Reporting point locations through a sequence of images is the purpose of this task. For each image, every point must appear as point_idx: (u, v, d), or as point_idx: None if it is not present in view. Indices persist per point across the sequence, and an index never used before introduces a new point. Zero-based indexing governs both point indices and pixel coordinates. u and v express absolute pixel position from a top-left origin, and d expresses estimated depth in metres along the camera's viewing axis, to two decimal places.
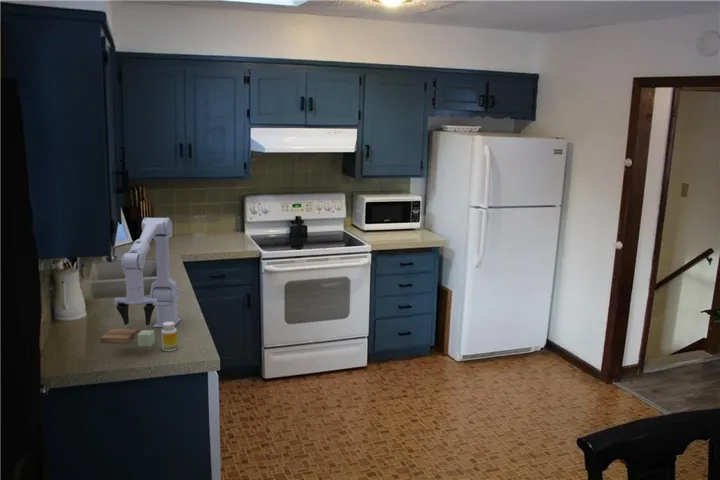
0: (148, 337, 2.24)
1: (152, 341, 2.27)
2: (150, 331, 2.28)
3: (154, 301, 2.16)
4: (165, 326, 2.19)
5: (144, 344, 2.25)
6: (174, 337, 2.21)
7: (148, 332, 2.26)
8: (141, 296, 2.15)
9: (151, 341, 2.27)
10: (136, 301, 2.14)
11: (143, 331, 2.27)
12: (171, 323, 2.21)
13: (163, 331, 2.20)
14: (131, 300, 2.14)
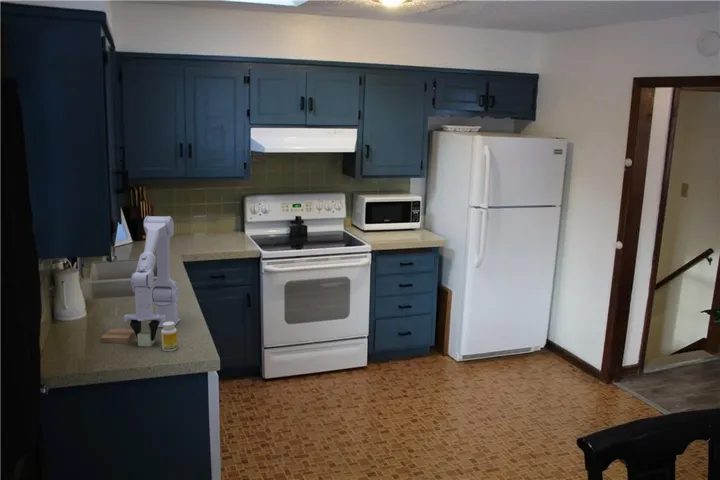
0: (148, 336, 2.24)
1: (152, 341, 2.27)
2: (150, 331, 2.28)
3: (162, 318, 2.24)
4: (165, 326, 2.19)
5: (144, 344, 2.25)
6: (174, 337, 2.21)
7: (148, 332, 2.26)
8: (150, 313, 2.24)
9: (151, 341, 2.27)
10: (145, 318, 2.23)
11: (143, 331, 2.27)
12: (171, 323, 2.21)
13: (163, 331, 2.20)
14: (140, 317, 2.22)
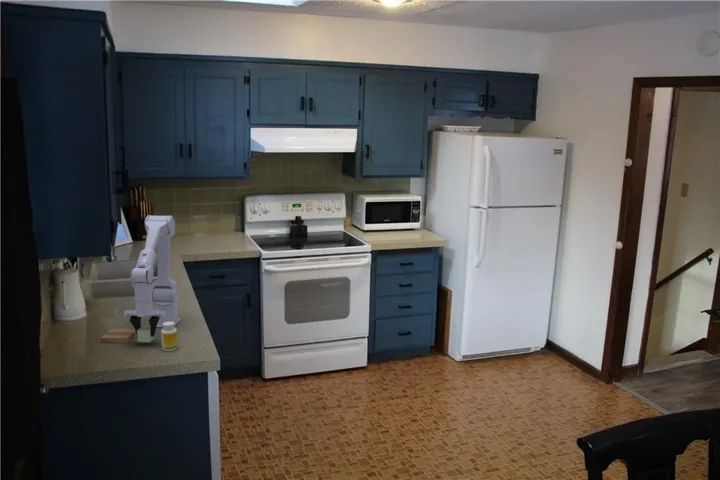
0: (148, 332, 2.24)
1: (152, 337, 2.27)
2: None
3: (162, 314, 2.24)
4: (165, 326, 2.19)
5: (144, 340, 2.25)
6: (174, 337, 2.21)
7: (148, 328, 2.26)
8: (150, 309, 2.23)
9: (151, 337, 2.26)
10: (145, 314, 2.22)
11: (143, 327, 2.27)
12: (171, 323, 2.21)
13: (163, 331, 2.20)
14: (140, 313, 2.22)
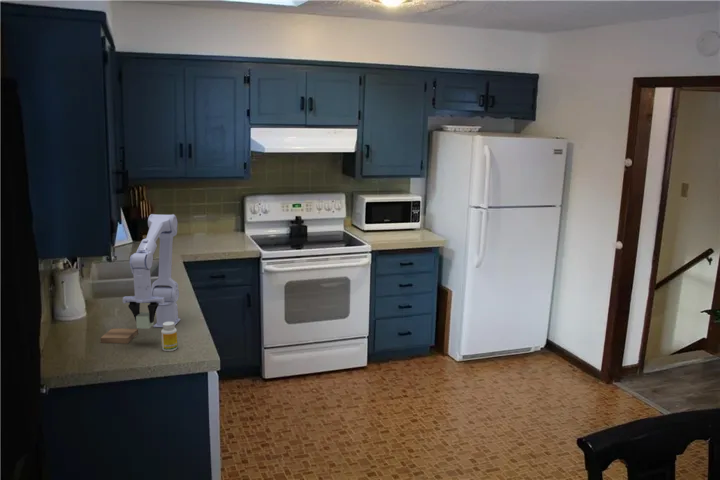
0: (147, 318, 2.23)
1: (151, 323, 2.26)
2: None
3: (161, 300, 2.23)
4: (165, 326, 2.19)
5: (143, 326, 2.24)
6: (174, 337, 2.21)
7: (147, 314, 2.25)
8: (148, 295, 2.22)
9: (150, 323, 2.25)
10: (144, 300, 2.21)
11: (142, 313, 2.26)
12: (171, 323, 2.21)
13: (163, 331, 2.20)
14: (139, 299, 2.21)
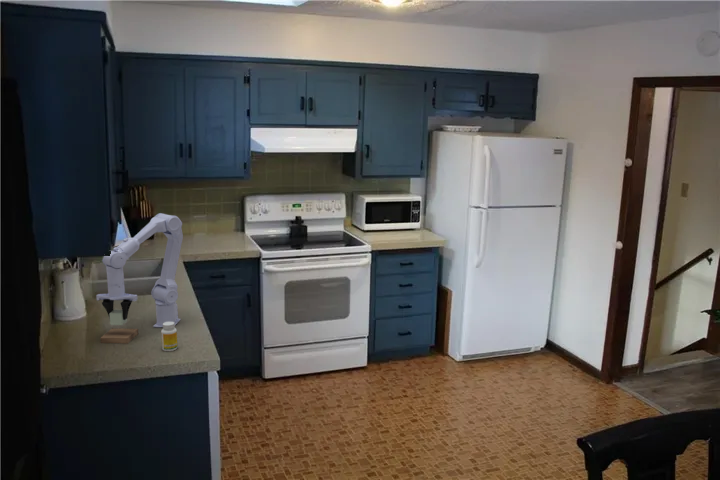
0: (120, 315, 2.29)
1: (124, 320, 2.31)
2: None
3: (134, 297, 2.28)
4: (165, 326, 2.19)
5: (116, 323, 2.29)
6: (174, 337, 2.21)
7: (120, 311, 2.30)
8: (121, 292, 2.28)
9: (123, 320, 2.31)
10: (117, 297, 2.27)
11: (115, 311, 2.31)
12: (171, 323, 2.21)
13: (163, 331, 2.20)
14: (112, 296, 2.27)
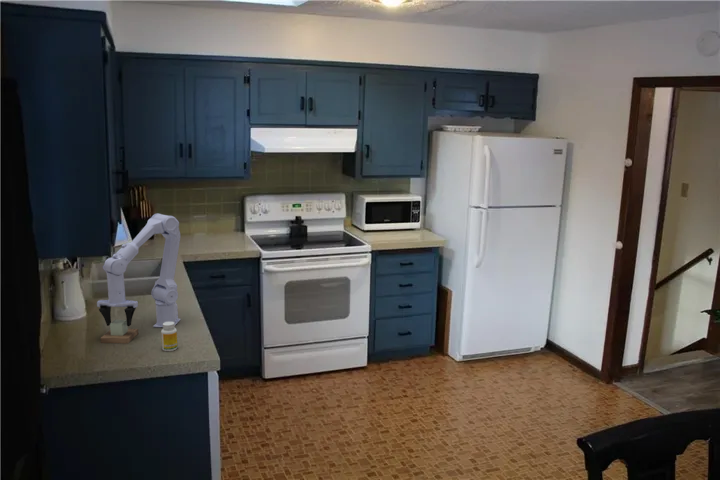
0: (120, 326, 2.29)
1: (125, 330, 2.32)
2: (123, 320, 2.33)
3: (134, 303, 2.29)
4: (165, 326, 2.19)
5: (117, 333, 2.30)
6: (174, 337, 2.21)
7: (121, 322, 2.31)
8: (122, 299, 2.28)
9: (124, 330, 2.31)
10: (117, 303, 2.27)
11: (116, 321, 2.32)
12: (171, 323, 2.21)
13: (163, 331, 2.20)
14: (113, 303, 2.27)
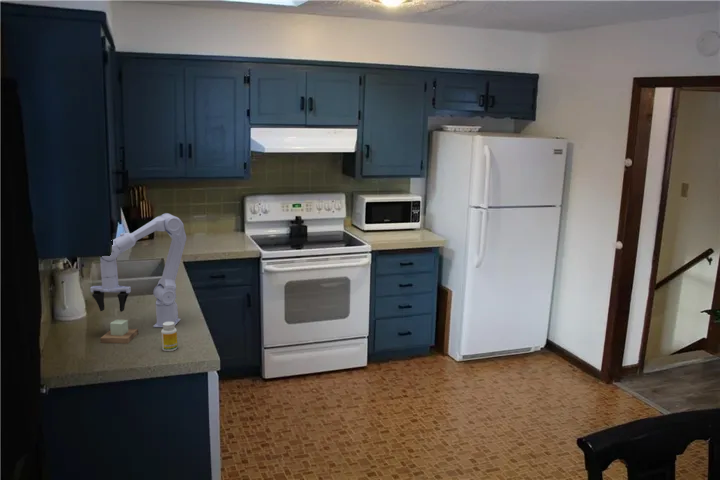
0: (120, 326, 2.29)
1: (125, 330, 2.32)
2: (123, 320, 2.33)
3: (127, 289, 2.32)
4: (165, 326, 2.19)
5: (116, 333, 2.30)
6: (174, 337, 2.21)
7: (121, 322, 2.31)
8: (115, 284, 2.31)
9: (124, 331, 2.31)
10: (110, 289, 2.30)
11: (117, 321, 2.32)
12: (171, 323, 2.21)
13: (163, 331, 2.20)
14: (106, 288, 2.30)
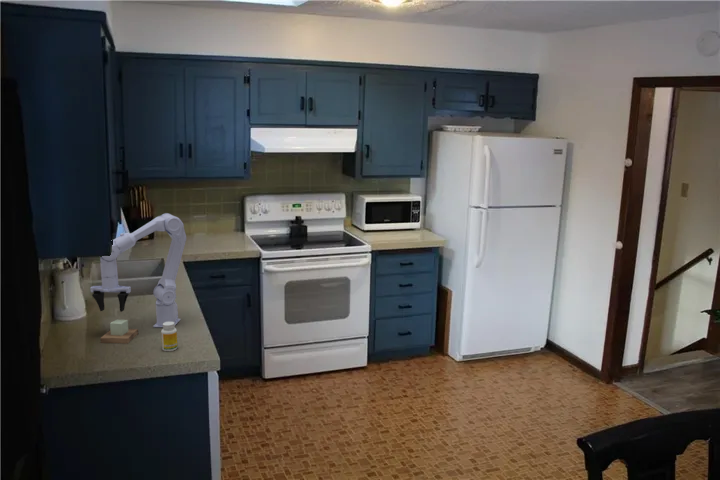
0: (120, 326, 2.30)
1: (125, 330, 2.32)
2: (123, 320, 2.33)
3: (127, 289, 2.32)
4: (165, 326, 2.19)
5: (116, 333, 2.30)
6: (174, 337, 2.21)
7: (121, 322, 2.31)
8: (115, 284, 2.31)
9: (124, 331, 2.31)
10: (110, 289, 2.30)
11: (117, 321, 2.33)
12: (171, 323, 2.21)
13: (163, 331, 2.20)
14: (106, 288, 2.30)
